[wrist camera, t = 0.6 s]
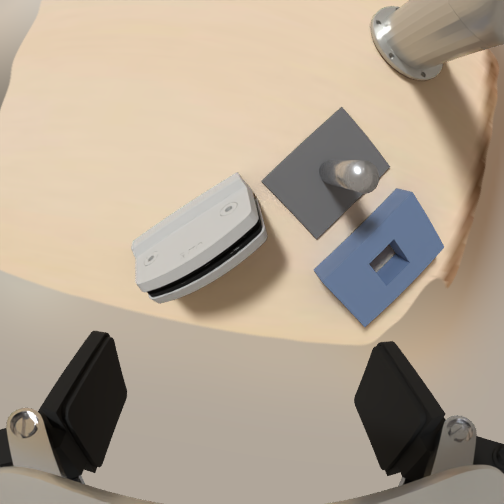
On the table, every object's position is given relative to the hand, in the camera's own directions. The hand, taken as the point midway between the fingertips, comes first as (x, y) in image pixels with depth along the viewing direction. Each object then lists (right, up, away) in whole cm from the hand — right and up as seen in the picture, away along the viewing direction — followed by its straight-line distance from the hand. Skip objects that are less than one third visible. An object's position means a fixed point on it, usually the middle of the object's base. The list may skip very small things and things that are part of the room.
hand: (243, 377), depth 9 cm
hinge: (-6, +7, +26) cm, 28 cm away
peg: (+10, +14, +24) cm, 29 cm away
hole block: (+18, +4, +28) cm, 33 cm away
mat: (+10, +14, +24) cm, 30 cm away
